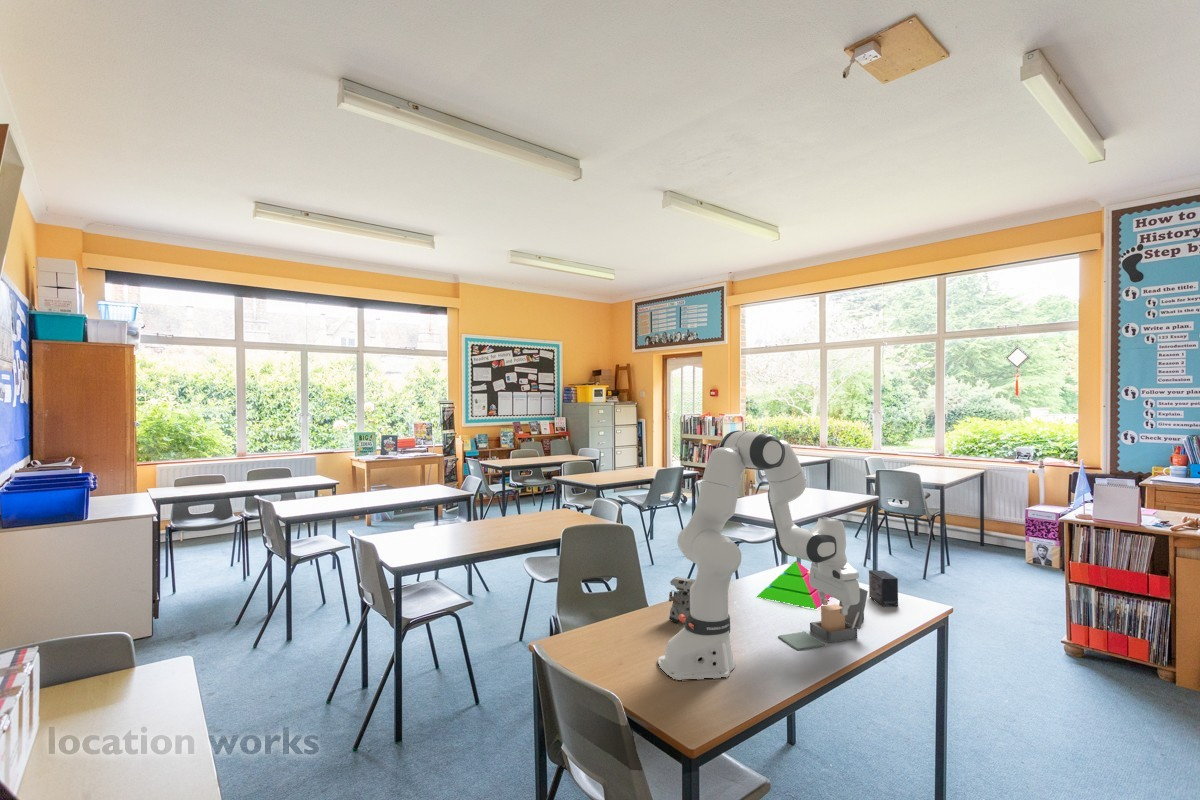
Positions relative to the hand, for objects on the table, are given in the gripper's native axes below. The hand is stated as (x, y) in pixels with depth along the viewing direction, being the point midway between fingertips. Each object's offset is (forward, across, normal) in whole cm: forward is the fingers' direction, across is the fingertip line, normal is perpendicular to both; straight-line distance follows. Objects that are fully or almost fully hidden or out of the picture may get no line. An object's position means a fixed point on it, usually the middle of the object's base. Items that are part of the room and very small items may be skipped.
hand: (833, 609), depth 181 cm
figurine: (+8, -26, -40) cm, 49 cm away
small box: (+9, -19, +38) cm, 43 cm away
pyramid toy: (+9, -36, +12) cm, 39 cm away
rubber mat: (+8, +1, -14) cm, 16 cm away
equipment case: (+8, 0, +2) cm, 8 cm away
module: (+8, 0, 0) cm, 8 cm away
